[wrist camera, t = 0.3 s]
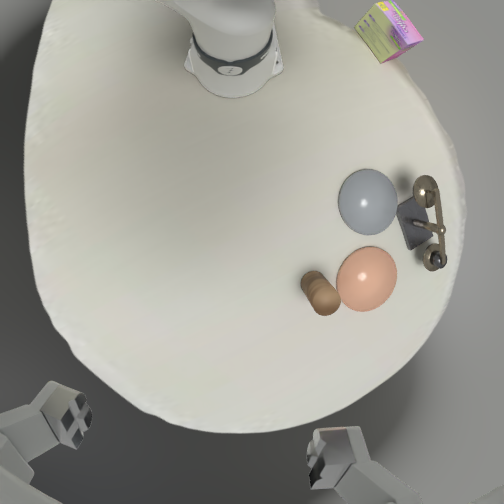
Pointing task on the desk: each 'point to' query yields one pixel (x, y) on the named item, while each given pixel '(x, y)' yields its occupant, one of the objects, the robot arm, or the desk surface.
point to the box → (387, 31)
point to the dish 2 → (366, 279)
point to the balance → (424, 222)
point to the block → (320, 293)
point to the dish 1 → (368, 202)
